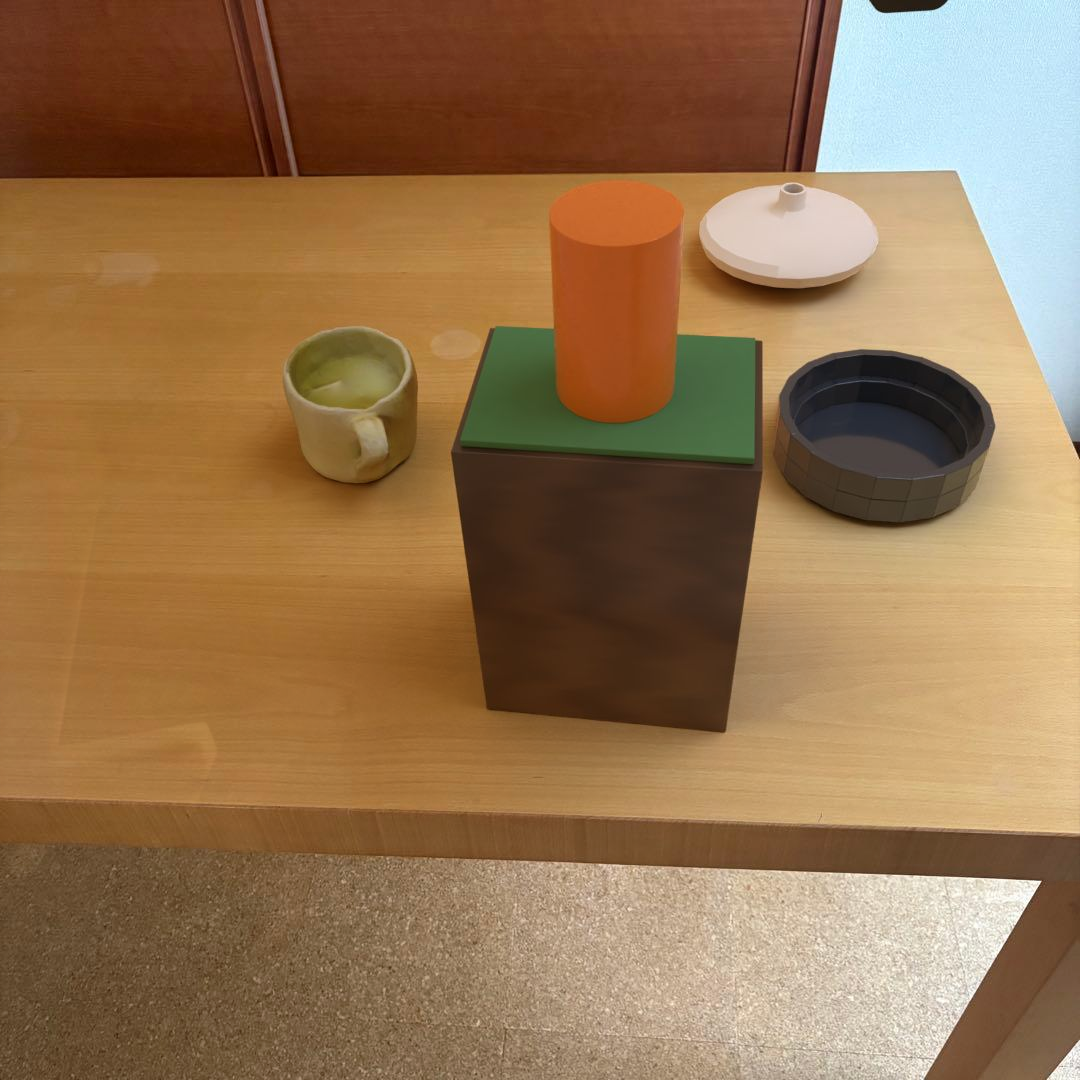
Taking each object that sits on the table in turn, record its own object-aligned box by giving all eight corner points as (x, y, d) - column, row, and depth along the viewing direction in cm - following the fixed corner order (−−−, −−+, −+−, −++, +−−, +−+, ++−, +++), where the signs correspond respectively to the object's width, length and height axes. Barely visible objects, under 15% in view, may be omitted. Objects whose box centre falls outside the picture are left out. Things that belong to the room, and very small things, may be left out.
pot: (963, 403, 80) (978, 354, 76) (992, 535, 70) (1010, 485, 66) (771, 392, 81) (778, 344, 78) (773, 520, 72) (780, 471, 68)
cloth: (754, 344, 52) (755, 337, 52) (753, 465, 46) (754, 457, 45) (496, 332, 54) (495, 325, 54) (460, 446, 48) (459, 439, 47)
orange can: (677, 354, 51) (687, 181, 45) (670, 427, 47) (680, 248, 41) (564, 349, 52) (558, 178, 45) (548, 420, 48) (539, 243, 42)
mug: (274, 394, 81) (287, 300, 73) (403, 408, 84) (430, 319, 76) (271, 523, 74) (286, 433, 67) (412, 532, 77) (442, 448, 70)
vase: (768, 329, 88) (778, 254, 83) (663, 249, 97) (666, 177, 92) (910, 274, 93) (928, 200, 88) (796, 203, 102) (806, 132, 97)
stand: (729, 602, 67) (762, 340, 52) (725, 732, 60) (763, 471, 45) (514, 584, 68) (489, 327, 54) (486, 709, 62) (450, 451, 47)
